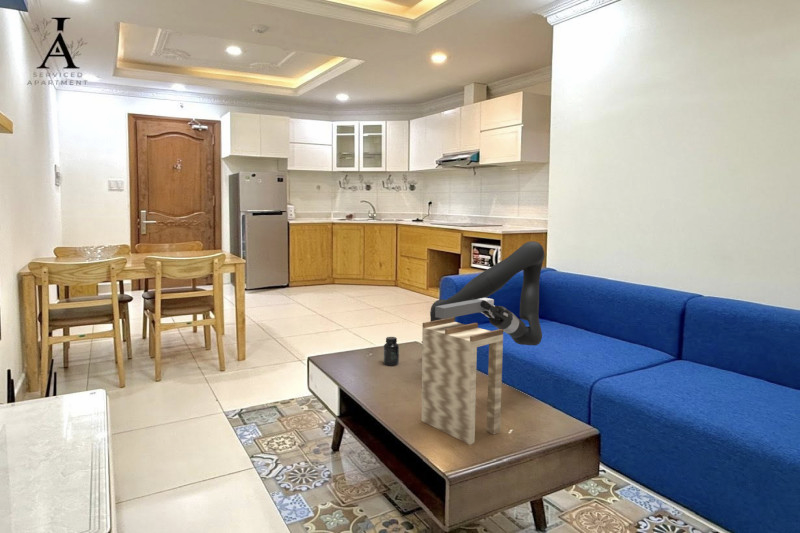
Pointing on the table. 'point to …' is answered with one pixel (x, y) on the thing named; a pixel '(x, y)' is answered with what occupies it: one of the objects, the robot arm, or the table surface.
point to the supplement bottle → (391, 352)
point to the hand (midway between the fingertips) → (477, 301)
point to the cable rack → (458, 377)
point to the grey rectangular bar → (461, 308)
